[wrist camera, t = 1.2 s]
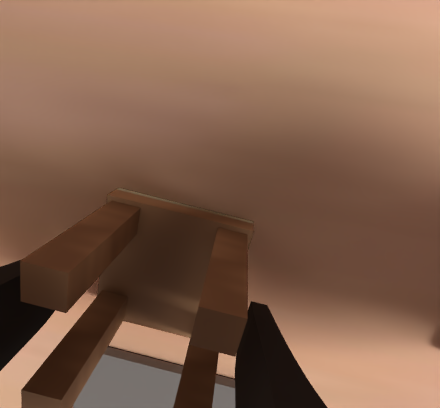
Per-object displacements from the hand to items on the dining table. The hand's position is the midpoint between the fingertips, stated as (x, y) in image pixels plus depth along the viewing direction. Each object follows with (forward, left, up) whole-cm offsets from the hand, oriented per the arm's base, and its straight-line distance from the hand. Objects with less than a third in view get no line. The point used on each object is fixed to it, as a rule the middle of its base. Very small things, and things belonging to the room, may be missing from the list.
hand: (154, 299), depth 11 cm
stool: (0, 0, -3) cm, 3 cm away
